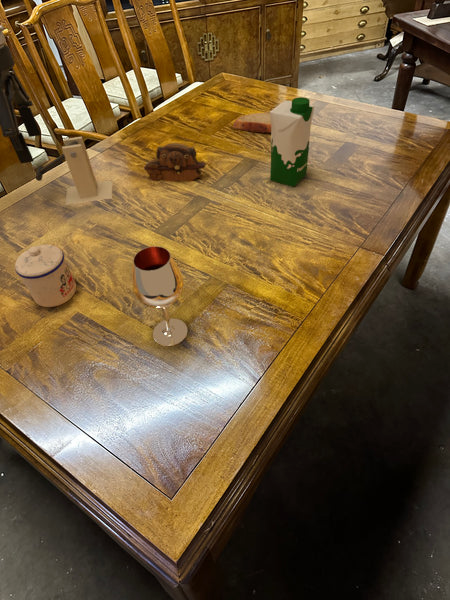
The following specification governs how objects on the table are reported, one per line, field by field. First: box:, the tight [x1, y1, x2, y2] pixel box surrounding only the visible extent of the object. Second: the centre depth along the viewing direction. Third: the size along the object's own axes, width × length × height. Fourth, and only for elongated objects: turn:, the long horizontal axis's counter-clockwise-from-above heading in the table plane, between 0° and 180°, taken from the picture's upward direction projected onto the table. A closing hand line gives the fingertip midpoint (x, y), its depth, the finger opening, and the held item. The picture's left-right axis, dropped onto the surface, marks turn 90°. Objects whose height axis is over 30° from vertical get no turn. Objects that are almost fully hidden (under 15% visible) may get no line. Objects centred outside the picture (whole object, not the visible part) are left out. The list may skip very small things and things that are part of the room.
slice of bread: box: [232, 111, 271, 134], centre depth 129 cm, size 18×18×4 cm
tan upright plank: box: [61, 136, 113, 206], centre depth 105 cm, size 12×9×15 cm
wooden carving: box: [143, 142, 207, 182], centre depth 109 cm, size 16×5×10 cm, turn 88°
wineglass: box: [131, 245, 188, 347], centre depth 70 cm, size 8×8×18 cm
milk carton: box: [269, 96, 315, 188], centre depth 103 cm, size 9×9×20 cm
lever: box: [35, 141, 78, 182], centre depth 102 cm, size 13×5×2 cm, turn 100°
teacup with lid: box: [14, 244, 77, 308], centre depth 82 cm, size 12×9×12 cm
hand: (31, 148), depth 99 cm, fingers open, 13 cm apart
